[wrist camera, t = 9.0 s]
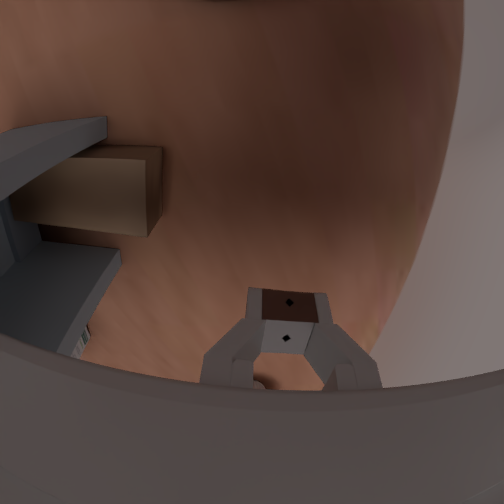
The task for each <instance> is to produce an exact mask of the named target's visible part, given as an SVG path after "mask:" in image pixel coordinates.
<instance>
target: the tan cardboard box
mask: <svg viewBox="0 0 504 504" xmlns="http://www.w3.org/2000/svg"><path fill="white" fill-rule="evenodd" d="M162 154H163V147H156V146H135V145H91V146H89V147H87V148H85V149H84V150H82V151H80V152H78V153H76V154H74V155H73V156H71V157H69V158H67V159H65V160H64V161H62V162H60V163H58V164H57V165H55V166H53V167H52V168H50V169H48V170H47V171H45V172H44V173H42V174H40V175H39V176H37V177H36V178H34V179H32V180H31V181H29V182H28V183H26V184H25V185H23V186H22V187H20V188H19V189H17V190H16V191H15V192H13V193H12V194H10V195H9V198H10V203H11V208H12V212H13V217H14V220H15V221H23V222H31V223H38V224H46V225H54V226H62V227H70V228H77V229H85V230H93V231H101V232H108V233H116V234H124V235H132V236H139V237H148V236H149V234H150V233H151V231H152V229H153V228H154V226H155V225H156V223H157V222H158V220H159V219H160V217H161V216H162Z"/></svg>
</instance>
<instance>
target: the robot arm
mask: <svg viewBox="0 0 504 504" xmlns="http://www.w3.org/2000/svg"><path fill="white" fill-rule="evenodd" d="M260 352H270V353H290V354H304V356H305V358H306V359H307V361H308V362H309V363H310V365H311V366H312V368H313V369H314V370H315V372H316V373H317V374H318V376H319V377H320V379H321V380H322V381H323V383H324V384H325V386H324V387H323V389H322V391H298V390H270V389H254V388H253V362H254V361H255V360H256V358H257V357H258V356H259V354H260ZM0 504H504V369H501V370H497V371H493V372H489V373H484V374H480V375H475V376H470V377H465V378H459V379H453V380H447V381H441V382H434V383H427V384H420V385H411V386H401V387H390V388H383V387H382V383H381V380H380V376H379V371H378V368H377V364H376V362H375V361H374V360H373V359H372V358H371V357H370V356H369V355H368V354H367V353H366V352H365V351H364V350H363V349H362V348H361V347H360V346H359V345H358V344H357V343H356V342H355V341H354V340H353V339H352V338H351V337H350V336H349V335H348V334H347V333H346V332H345V331H344V330H342V329H341V328H340V327H339V326H338V325H337V324H333V319H332V315H331V310H330V306H329V301H328V297H327V294H326V293H310V292H294V291H282V290H273V289H263V288H262V289H261V288H252V287H249V288H248V295H247V304H246V314H245V318H242V319H241V320H240V321H239V322H238V323H237V324H236V325H235V326H234V327H233V328H232V329H231V330H230V331H229V332H228V333H226V334H225V335H224V336H223V337H222V338H221V339H220V340H219V341H218V342H217V343H216V344H215V345H214V346H213V347H212V348H211V349H210V350H209V351H208V352H207V353H206V354H204V360H203V365H202V371H201V376H200V382H199V383H194V382H187V381H180V380H174V379H168V378H162V377H156V376H150V375H145V374H140V373H135V372H130V371H125V370H121V369H116V368H112V367H108V366H104V365H99V364H95V363H92V362H88V361H84V360H80V359H77V358H73V357H70V356H66V355H63V354H60V353H56V352H53V351H50V350H47V349H44V348H41V347H38V346H35V345H32V344H29V343H26V342H23V341H21V340H18V339H15V338H13V337H11V336H8V335H6V334H3V333H0Z"/></svg>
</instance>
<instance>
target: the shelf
mask: <svg viewBox="0 0 504 504" xmlns="http://www.w3.org/2000/svg"><path fill="white" fill-rule="evenodd" d="M105 138H107V116H104V117H92V118H82V119H73V120H65V121H57V122H50V123H44V124H38V125H32V126H26V127H21V128H16V129H11V130H8V131H6V132H3V133H1V134H0V333H3V334H6V335H8V336H11V337H13V338H15V339H18V340H21V341H23V342H26V343H29V344H32V345H35V346H38V347H41V348H44V349H47V350H50V351H53V352H56V353H60V354H63V355H66V356H71V354H72V352H73V350H74V348H75V346H76V344H77V342H78V341H79V339H80V337H81V335H82V333H83V331H84V329H85V327H86V325H87V324H88V322H89V320H90V318H91V316H92V314H93V313H94V311H95V309H96V307H97V305H98V304H99V302H100V300H101V298H102V297H103V295H104V293H105V292H106V290H107V288H108V287H109V285H110V283H111V281H112V280H113V278H114V277H115V275H116V273H117V272H118V270H119V268H120V267H121V265H122V262H121V256H120V251H119V249H113V248H104V247H94V246H85V245H76V244H67V243H58V242H49V241H42V239H41V235H40V232H39V228H38V224H37V223H31V222H23V221H15V220H14V217H13V212H12V208H11V203H10V198H9V195H10V194H12V193H13V192H15V191H16V190H17V189H19V188H20V187H22V186H23V185H25V184H26V183H28V182H29V181H31V180H32V179H34V178H36V177H37V176H39V175H40V174H42V173H44V172H45V171H47V170H48V169H50V168H52V167H53V166H55V165H57V164H58V163H60V162H62V161H64V160H65V159H67V158H69V157H71V156H73V155H74V154H76V153H78V152H80V151H82V150H84V149H85V148H87V147H89V146H91V145H93V144H95V143H97V142H99V141H101V140H103V139H105Z"/></svg>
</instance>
